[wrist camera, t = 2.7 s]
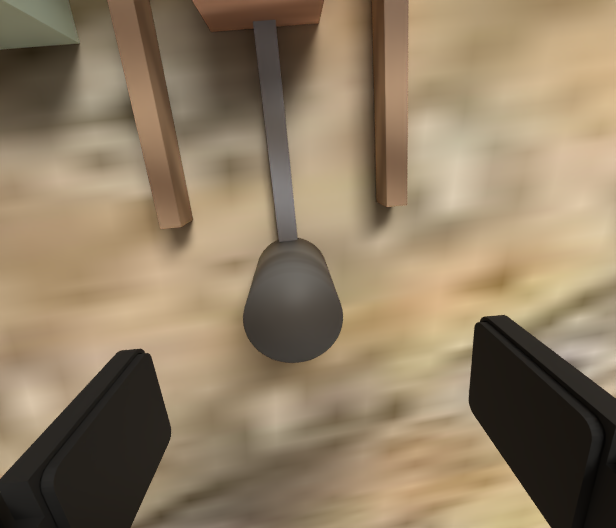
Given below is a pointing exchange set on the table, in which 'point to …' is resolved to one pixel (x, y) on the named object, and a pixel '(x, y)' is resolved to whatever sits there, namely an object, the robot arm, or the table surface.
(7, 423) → the table surface
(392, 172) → the lane rack
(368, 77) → the table surface
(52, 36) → the sage block
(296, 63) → the table surface
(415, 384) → the table surface
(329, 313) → the pull block
